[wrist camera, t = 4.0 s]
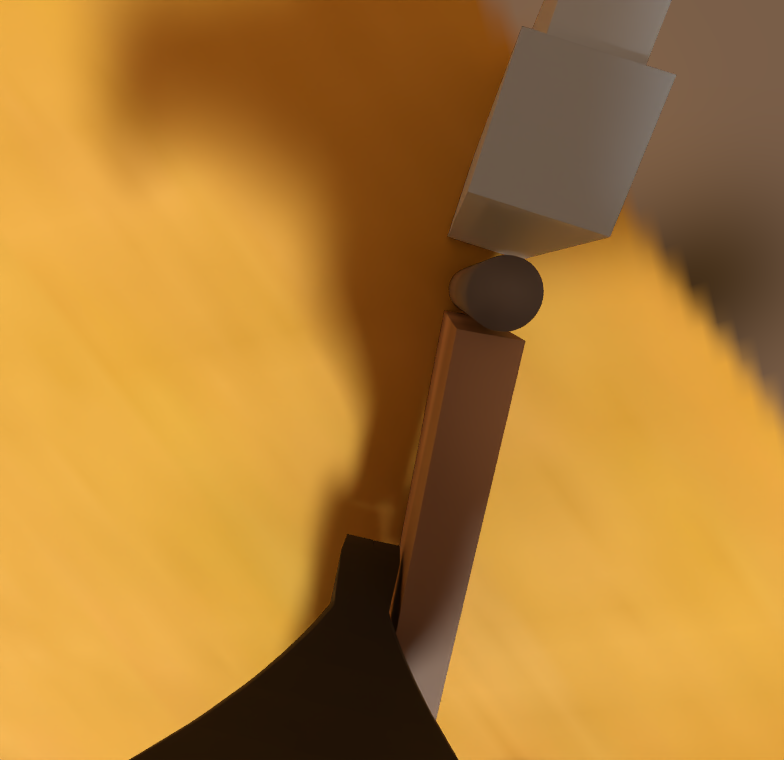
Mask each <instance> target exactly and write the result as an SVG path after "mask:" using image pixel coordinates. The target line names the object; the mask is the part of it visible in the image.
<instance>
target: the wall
mask: <svg viewBox="0 0 784 760" xmlns="http://www.w3.org/2000/svg"><path fill="white" fill-rule="evenodd" d="M671 1H672V0H544V2H543V4H542V7H541V9H540V12H539V14H538V16H537V19H536V21H535V23H534V26H533V28H532V29H530V28H527V27H524V26H522V28H521V31H520V33H519V36H518V39H517V41H516V44H515V47H514V49H513V52H512V55H511V57H510V60H509V63H508V66H507V68H506V71H505V74H504V76H503V79H502V82H501V84H500V87H499V90H498V92H497V95H496V98H495V101H494V103H493V106H492V109H491V111H490V114H489V117H488V119H487V122H486V125H485V127H484V130H483V133H482V136H481V138H480V141H479V144H478V146H477V149H476V152H475V154H474V157H473V160H472V163H471V166H470V169H469V172H468V175H467V178H466V182H465V185H464V188H463V191H462V194H461V197H460V200H459V203H458V206H457V209H456V212H455V215H454V218H453V221H452V224H451V228H450V231H449V234H448V237H451V238H454V239H457V240H460V241H463V242H466V243H469V244H472V245H476V246H479V247H482V248H485V249H488V250H491V251H494V252H497V253H501V254H504V255H514V256H518V257H521V258H523V259H525V258H529V257H533V256H537V255H541V254H545V253H549V252H553V251H557V250H560V249H564V248H568V247H572V246H576V245H580V244H584V243H588V242H592V241H596V240H600V239H604V238H608V237H610V236H611V233H612V231H613V228H614V226H615V223H616V221H617V219H618V216H619V214H620V211H621V209H622V206H623V204H624V202H625V199H626V197H627V194H628V192H629V189H630V187H631V184H632V182H633V179H634V177H635V175H636V172H637V170H638V167H639V165H640V162H641V160H642V158H643V155H644V153H645V150H646V148H647V146H648V143H649V141H650V138H651V136H652V133H653V131H654V128H655V126H656V124H657V121H658V119H659V116H660V114H661V111H662V109H663V106H664V104H665V102H666V99H667V97H668V94H669V92H670V90H671V87H672V85H673V82H674V80H675V77H676V74H672V73H669V72H666V71H663V70H659V69H657V68H653V67H650V66H647V65H646V64H647V61H648V59H649V56H650V54H651V51H652V49H653V46H654V43H655V41H656V38H657V36H658V34H659V31H660V28H661V26H662V23H663V21H664V18H665V16H666V13H667V11H668V8H669V5H670V3H671Z"/></svg>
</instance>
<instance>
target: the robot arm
mask: <svg viewBox="0 0 784 760" xmlns="http://www.w3.org/2000/svg"><path fill="white" fill-rule="evenodd" d="M399 566H400V546H396V545H392V544H388V543H383V542H379V541H373V540H371V539H366V538H362V537H358V536H353V535H349V534H347V537H346V539H345V542H344V545H343V547H342V550H341V555H340V560H339V565H338V569H337V574H336V579H335V583H334V588H333V593H332V597H331V602H330V605H329V606H328V607H327V608H326V609H325V611H324V612H323V613H322V614H321V615H320V616H319V618H318V619H317V620H316V621H315V622H314V623H313V624H312V625H311V626H310V627H309V628H308V629H307V630H306V631H305V632H304V633H303V634H302V635H301V636H300V637H299V638H298V639H297V640H296V641H295V642H294V643H293V644H292V645H291V646H290V647H289V648H288V649H287V650H285V651H284V652H283V653H282V654H281V655H280V656H279V657H277V658H276V659H275V660H274V661H273V662H272V663H270V664H269V665H268V666H267V667H266V668H265V669H263V670H262V671H261V672H260V673H259V674H257V675H256V676H255V677H254V678H252V679H251V680H250V681H249V682H247V683H246V684H245V685H243V686H242V687H241V688H239V689H238V690H236V691H235V692H234V693H232V694H231V695H229V696H228V697H227V698H225V699H224V700H222V701H221V702H220V703H218V704H217V705H215V706H214V707H213V708H211V709H210V710H208V711H207V712H206V713H204V714H203V715H201V716H200V717H198V718H197V719H195V720H194V721H192V722H191V723H189V724H188V725H186V726H184V727H183V728H181V729H179V730H178V731H176V732H174V733H173V734H171V735H169V736H168V737H166V738H164V739H163V740H161V741H159V742H158V743H156V744H154V745H153V746H151V747H150V748H148V749H146V750H145V751H143V752H141V753H140V754H138V755H136V756H135V757H133V758H131V759H129V760H458V758H457V757H456V755H455V753H454V751H453V750H452V748H451V746H450V744H449V743H448V741H447V739H446V738H445V736H444V734H443V732H442V731H441V729H440V727H439V725H438V724H437V722H436V720H435V718H434V717H433V715H432V713H431V711H430V709H429V708H428V706H427V704H426V702H425V700H424V698H423V695H422V693H421V691H420V689H419V687H418V685H417V683H416V681H415V679H414V677H413V674H412V672H411V670H410V668H409V666H408V663H407V661H406V659H405V656H404V654H403V651H402V649H401V646H400V643H399V641H398V638H397V635H396V632H395V629H394V627H393V624H392V621H391V618H390V614H389V611H390V606H391V602H392V597H393V593H394V588H395V584H396V580H397V575H398V571H399Z"/></svg>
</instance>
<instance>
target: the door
mask: <svg viewBox="0 0 784 760" xmlns="http://www.w3.org/2000/svg"><path fill="white" fill-rule="evenodd" d="M543 292H544V290H543V283H542V279H541V277H540V275H539V273H538V271H537V270H536V268H535V267H534V266H533V265H532V264H531V263H530V262H528V261H527V260H525V259H523V258H521V257H518V256H514V255H501V256H497V257H493V258H491V259H488V260H486V261H483V262H480V263H478V264H475V265H473V266H470V267H468V268H465V269H463V270H460V271H459V272H457V273H456V274H455V275H454V276H453V278H452V279H451V281H450V284H449V296H450V298H451V300H452V302H453V303H454V304H455V305H456V306H457V307H458V308H460V309H461V310H462V311H464V312H465V313H467V314H468V315H467V314H462V313H456V312H450V311H444V315H443V320H442V326H441V331H440V336H439V341H438V346H437V352H436V357H435V362H434V367H433V373H432V378H431V383H430V388H429V394H428V399H427V404H426V409H425V415H424V420H423V425H422V430H421V436H420V441H419V446H418V451H417V457H416V462H415V467H414V472H413V478H412V483H411V488H410V493H409V499H408V504H407V509H406V514H405V520H404V525H403V530H402V535H401V541H400V566H399V571H398V575H397V580H396V584H395V588H394V593H393V597H392V602H391V606H390V611H389V614H390V618H391V621H392V624H393V627H394V629H395V632H396V635H397V638H398V641H399V643H400V646H401V649H402V651H403V654H404V656H405V659H406V661H407V663H408V666H409V668H410V670H411V672H412V674H413V677H414V679H415V681H416V683H417V685H418V687H419V689H420V691H421V693H422V695H423V698H424V700H425V702H426V704H427V706H428V708H429V709H430V711H431V713H432V715H433V717H434V718H435V720H436V717H437V713H438V709H439V705H440V700H441V696H442V692H443V688H444V683H445V679H446V675H447V671H448V666H449V662H450V658H451V654H452V649H453V645H454V641H455V637H456V633H457V628H458V624H459V620H460V616H461V611H462V607H463V603H464V599H465V594H466V590H467V586H468V582H469V577H470V573H471V569H472V565H473V561H474V556H475V552H476V548H477V544H478V539H479V535H480V531H481V527H482V522H483V518H484V514H485V510H486V505H487V501H488V497H489V493H490V489H491V484H492V480H493V476H494V472H495V467H496V463H497V459H498V455H499V450H500V446H501V442H502V438H503V433H504V429H505V425H506V421H507V417H508V412H509V408H510V404H511V400H512V395H513V391H514V387H515V383H516V378H517V374H518V370H519V366H520V361H521V357H522V353H523V349H524V345H525V341H524V340H523V339H521V338H519V337H517V336H516V335H514V334H512V333H511V332H509V331H513V330H516V329H519V328H521V327H523V326H524V325H526V324H527V323H529V322H530V321H531V320H532V319H533V318H534V316H535V315H536V314H537V312H538V311H539V309H540V306H541V304H542V300H543Z"/></svg>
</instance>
